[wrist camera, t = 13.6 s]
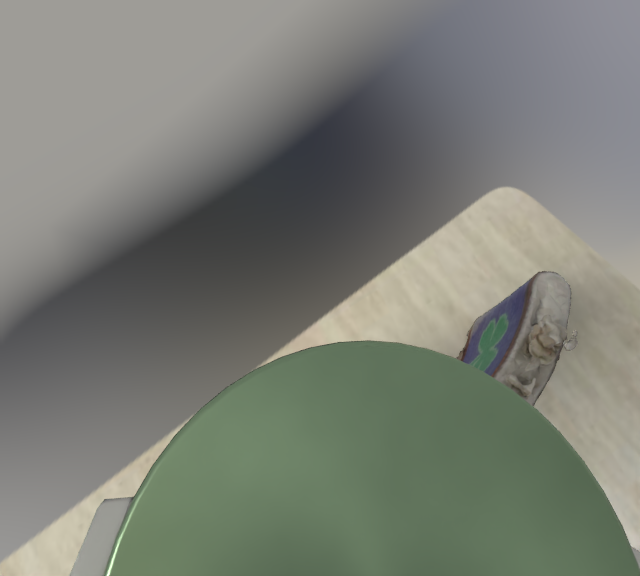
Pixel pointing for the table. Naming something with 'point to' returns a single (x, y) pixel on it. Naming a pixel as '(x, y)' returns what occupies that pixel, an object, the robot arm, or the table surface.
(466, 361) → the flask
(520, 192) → the table surface
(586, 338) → the table surface
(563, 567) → the tin
